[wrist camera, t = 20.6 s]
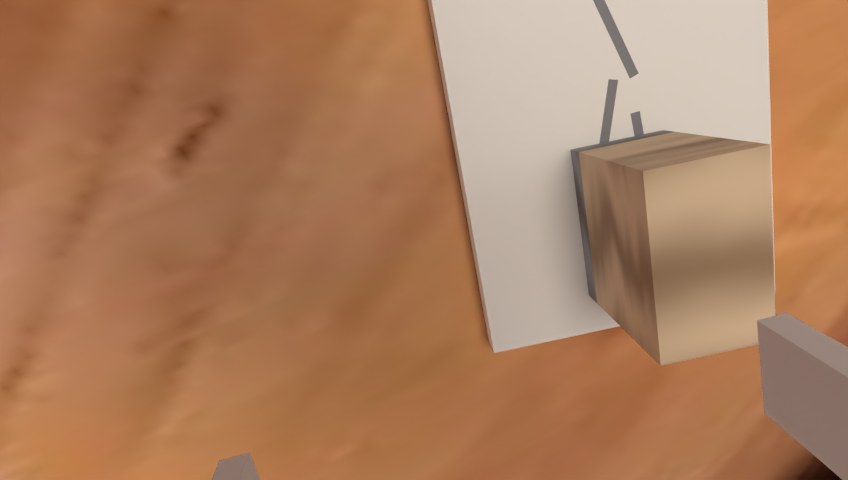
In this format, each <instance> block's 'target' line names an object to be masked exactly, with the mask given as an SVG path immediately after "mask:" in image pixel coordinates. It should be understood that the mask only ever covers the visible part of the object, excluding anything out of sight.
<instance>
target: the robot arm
mask: <svg viewBox="0 0 848 480" xmlns="http://www.w3.org/2000/svg"><path fill="white" fill-rule="evenodd" d="M757 329H758V341H759V353H760V365H761V377H762V390H763V402H764V413H765V414H766V415H767V416H768V417H770V418H771V419H772V420H773V421H774V422H775V423H777V424H778V425H779V426H780V427H781V428H782V429H784V430H785V431H786V432H787V433H788V434H789V435H791V436H792V437H793V438H794V439H795V440H796V441H798V442H799V443H800V444H801V445H802V446H803V447H805V448H806V449H807V450H808V451H809V452H811V453H812V454H813V455H814V456H815V457H816V458H818V459H819V460H820V461H821V462H822V463H823V464H825V465H826V466H827V467H828V468H829V469H830V470H832V471H833V472H834V473H835V474H836V475H837V476H839V477H840V478H841V479H842V480H848V347H846V346H845V345H843V344H841V343H839V342H838V341H836V340H834V339H832V338H830V337H829V336H827V335H825V334H823V333H821V332H820V331H818V330H816V329H814V328H813V327H811V326H809V325H807V324H805V323H804V322H802V321H800V320H798V319H796V318H795V317H793V316H791V315H789V314H788V313H783V314H780V315H776V316H772V317H768V318H764V319H760V320H757ZM212 480H260V478H259V475H258V473H257V470H256V468H255V465H254V463H253V460H252V458H251V455H250V453H247V454H243V455H239V456H235V457H232V458H228V459H224V460H220V461H219V464H218V466H217V468H216V471H215V473H214V475H213V478H212Z"/></svg>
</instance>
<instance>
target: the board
mask: <svg viewBox="0 0 848 480" xmlns="http://www.w3.org/2000/svg"><path fill="white" fill-rule="evenodd" d="M428 5H429V11H430V16H431V22H432V27H433V33H434V39H435V44H436V50H437V55H438V61H439V66H440V72H441V78H442V83H443V89H444V94H445V100H446V105H447V111H448V117H449V122H450V128H451V133H452V139H453V144H454V150H455V156H456V161H457V167H458V172H459V178H460V183H461V189H462V195H463V200H464V206H465V211H466V217H467V223H468V228H469V234H470V239H471V245H472V250H473V256H474V262H475V267H476V273H477V278H478V284H479V289H480V295H481V301H482V306H483V312H484V317H485V323H486V328H487V334H488V340H489V343H490V345H491V347H492V349H493V352H494V353H497V352H502V351H507V350H511V349H516V348H521V347H525V346H530V345H535V344H539V343H544V342H549V341H553V340H558V339H563V338H567V337H572V336H577V335H581V334H586V333H591V332H595V331H600V330H604V329H609V328H614V327H618V326H620V325H619V324H618V323H617V322H616V321H615V320H613V319H612V318H611V317H610V316H609V315H608V314H607V313H606V312H605V311H604V310H603V309H602V308H601V307H600V306H599V305H598V304H597V303H596V302H595V301H594V300H593V299H592V298H591V297H590V296H589V292H588V284H587V276H586V268H585V260H584V252H583V244H582V237H581V229H580V221H579V213H578V205H577V197H576V189H575V181H574V173H573V165H572V158H571V149H576V148H580V147H585V146H590V145H595V144H599V143H604V142H609V141H614V140H618V139H623V138H628V137H633V136H637V135H642V134H647V133H652V132H656V131H661V130H666V131H673V132H681V133H689V134H696V135H704V136H711V137H719V138H726V139H734V140H741V141H749V142H757V143H764V144H770V157H771V190H772V156H771V119H770V81H769V44H768V6H767V0H428ZM772 224H773V194H772ZM773 257H774V232H773ZM774 290H775V269H774Z"/></svg>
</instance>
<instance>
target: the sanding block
mask: <svg viewBox="0 0 848 480" xmlns="http://www.w3.org/2000/svg"><path fill="white" fill-rule="evenodd" d="M571 158H572V165H573V173H574V181H575V189H576V197H577V205H578V213H579V221H580V229H581V237H582V244H583V252H584V260H585V268H586V276H587V284H588V292H589V296H590V297H591V298H592V299H593V300H594V301H595V302H596V303H597V304H598V305H599V306H600V307H601V308H602V309H603V310H604V311H605V312H606V313H607V314H608V315H609V316H610V317H611V318H612V319H613V320H615V321H616V322H617V323H618V324H619V325H620V326H621V327H622V328H623V329H624V330H625V331H626V332H627V333H628V334H629V335H630V336H631V337H632V338H633V339H634V340H635V341H636V342H637V343H638V344H639V345H640V346H641V347H642V348H643V349H644V350H645V351H646V352H647V353H648V354H649V355H650V356H651V357H652V358H653V359H655V360H656V361H657V362H658V363H659V364H660V365H666V364H671V363H675V362H680V361H684V360H689V359H693V358H698V357H702V356H707V355H712V354H716V353H721V352H725V351H730V350H734V349H739V348H744V347H748V346H753V345H757V344H759V341H758V329H757V320H760V319H764V318H768V317H772V316H775V290H774V257H773V224H772V190H771V157H770V144H764V143H757V142H749V141H741V140H734V139H726V138H719V137H711V136H704V135H696V134H689V133H681V132H673V131H666V130H661V131H656V132H652V133H647V134H642V135H637V136H633V137H628V138H623V139H618V140H614V141H609V142H604V143H599V144H595V145H590V146H585V147H580V148H576V149H571Z"/></svg>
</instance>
